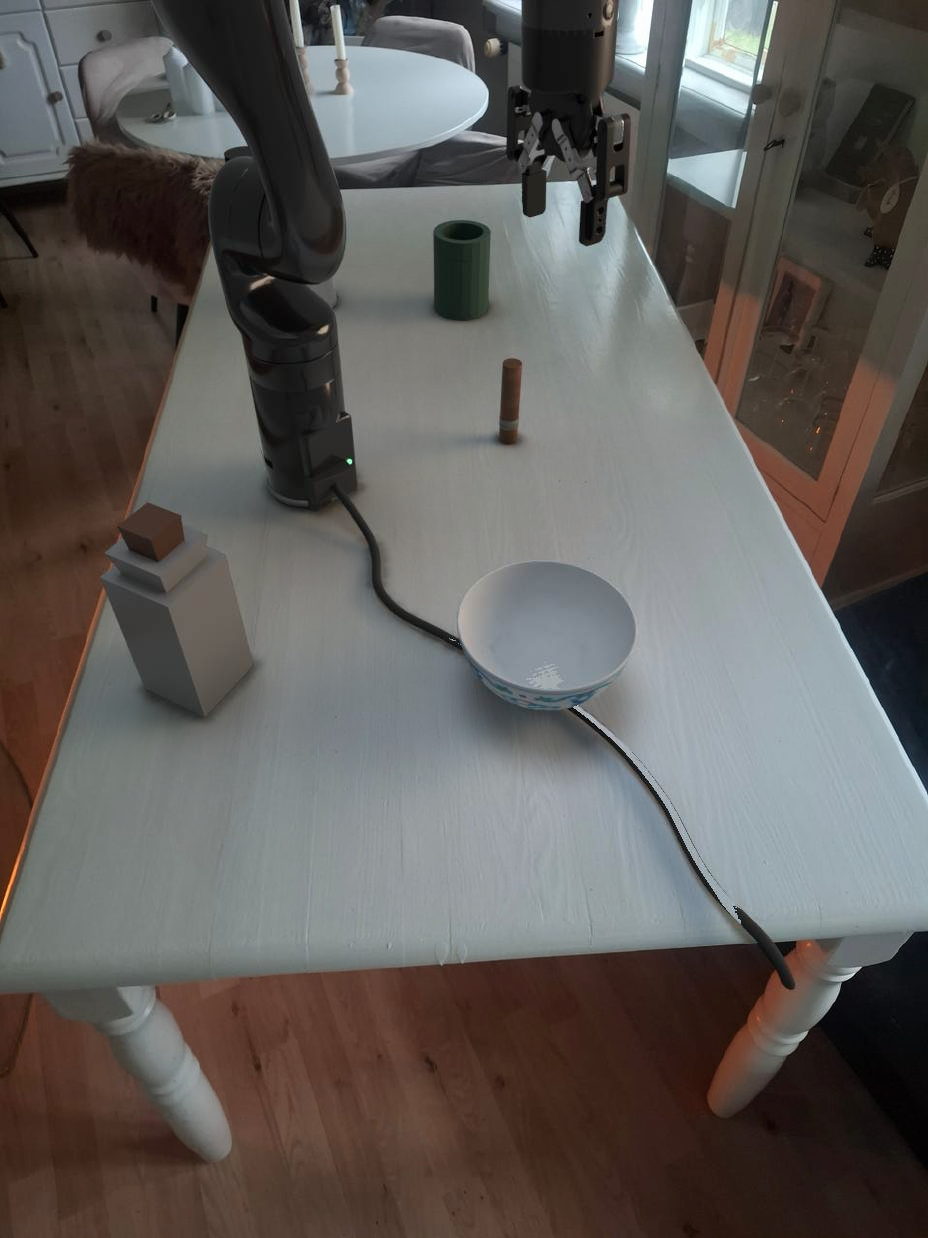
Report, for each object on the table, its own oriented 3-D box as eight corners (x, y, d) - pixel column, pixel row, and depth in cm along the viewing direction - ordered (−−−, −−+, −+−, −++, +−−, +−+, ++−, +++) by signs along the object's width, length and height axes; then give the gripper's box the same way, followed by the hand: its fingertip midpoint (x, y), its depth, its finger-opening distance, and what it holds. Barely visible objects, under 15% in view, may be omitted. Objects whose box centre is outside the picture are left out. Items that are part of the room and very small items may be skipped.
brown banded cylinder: (521, 438, 103) (527, 363, 96) (508, 446, 102) (513, 370, 95) (507, 430, 104) (511, 355, 97) (494, 438, 103) (497, 362, 96)
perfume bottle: (144, 688, 76) (81, 532, 63) (195, 638, 80) (145, 482, 67) (205, 717, 74) (152, 562, 61) (253, 664, 78) (214, 509, 65)
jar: (498, 307, 126) (502, 231, 118) (461, 325, 122) (462, 248, 114) (460, 290, 130) (461, 214, 122) (423, 307, 126) (421, 230, 118)
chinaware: (522, 596, 85) (527, 537, 79) (655, 672, 78) (671, 612, 72) (421, 687, 76) (419, 628, 71) (560, 780, 70) (570, 722, 64)
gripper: (479, 9, 70) (484, 215, 82) (588, 37, 61) (577, 264, 73) (553, -5, 73) (548, 197, 84) (668, 21, 64) (645, 242, 76)
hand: (561, 228), depth 79 cm, fingers open, 8 cm apart
